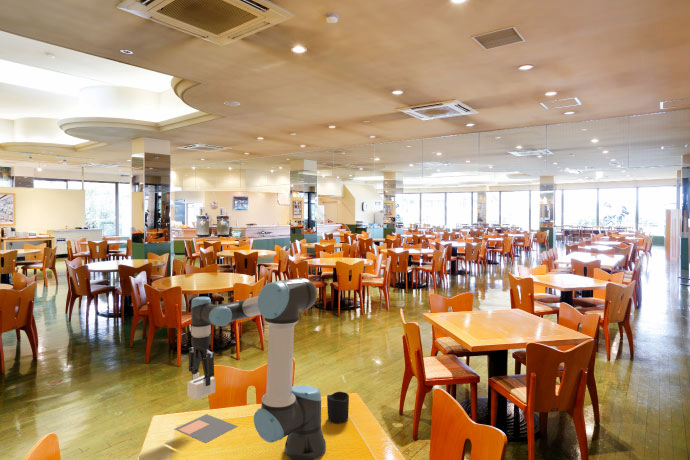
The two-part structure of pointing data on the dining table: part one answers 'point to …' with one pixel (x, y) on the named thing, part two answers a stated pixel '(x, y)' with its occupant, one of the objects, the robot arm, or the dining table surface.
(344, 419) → the pen holder
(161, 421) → the dining table surface
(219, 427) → the mat
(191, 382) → the white box
